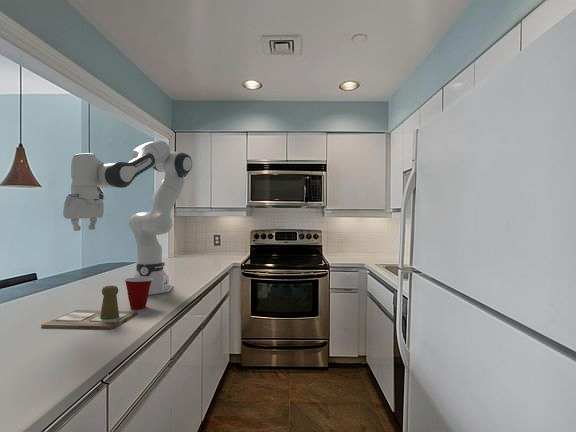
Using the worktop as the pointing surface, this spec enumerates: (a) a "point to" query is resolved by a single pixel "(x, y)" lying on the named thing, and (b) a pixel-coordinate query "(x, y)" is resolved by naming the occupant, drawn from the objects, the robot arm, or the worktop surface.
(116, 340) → the worktop surface
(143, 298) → the plastic cup
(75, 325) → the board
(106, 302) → the cork
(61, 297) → the worktop surface
